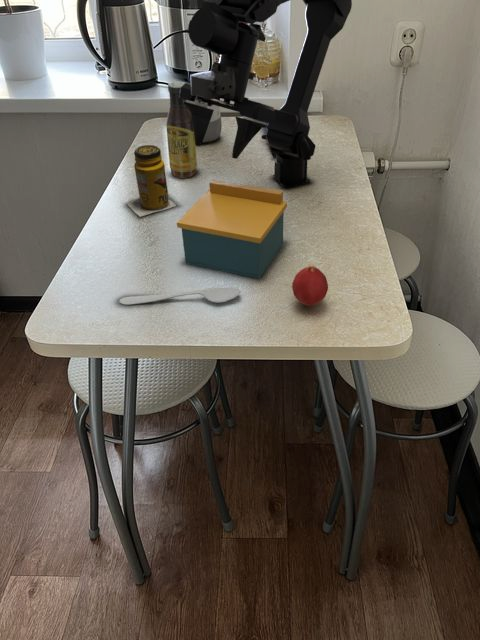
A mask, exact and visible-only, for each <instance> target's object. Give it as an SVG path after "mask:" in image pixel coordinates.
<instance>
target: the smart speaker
mask: <svg viewBox="0 0 480 640" xmlns="http://www.w3.org/2000/svg"><path fill="white" fill-rule="evenodd" d="M207 108H209V109H212V110H214V111H213V114H212V117H211V120H210V123H209V125H208V128H207V131H206V134H205V137H204V139H203V142H202V144H208V143H212V142H214V141H216V140H218V139H219V138H220V136H221V133H222V129H223V128H222V114H221V109H220V108H221V107H220V106H216V105H212V106H211V107H210V106H207Z"/></svg>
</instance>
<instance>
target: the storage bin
mask: <svg viewBox="0 0 480 640" xmlns="http://www.w3.org/2000/svg"><path fill="white" fill-rule="evenodd" d="M284 212H285V211H284ZM284 212H283V213H282V214H281V216H280V217H279V218H278V220H277V221H276V223H275V224H274V225H273V227H272V228H271V229H270V231H269V232H268V234H267V235H266V236H265V238H264V239H263V240H262V242H261V243H255V242H250V241H245V240H240V239H235V238H229V237H224V236H219V235H214V234H208V233H203V232H198V231H193V230H188V229H182V228H180V229H181V237H182V244H183V253H184V262H185V264H186V265H193V266H196V267H201V268H206V269H210V270H216V271H219V272H225V273H229V274H235V275H239V276H244V277H249V278H253V279H257V280H259V279H261V277H262V276H263V275H264V273H265V271H266V270H267V268H268V267H269V265H270V264H271V262H272V261H273V259H274V258H275V256H276V255H277V253H278V252H279V250H280V249H281V247H282V246H283V244H284Z"/></svg>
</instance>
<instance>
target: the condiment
mask: <svg viewBox="0 0 480 640" xmlns="http://www.w3.org/2000/svg"><path fill="white" fill-rule="evenodd" d="M133 154H134V165H133V167H134V171H135V178H136V179H135V180H136V184H137V190H138V195H139V197H138V198H136V199H133V200H128V201H126V202H125V204H126V205H127V206H128V207H129V208H130V209H131V210H132V212H134V213H135V214H136V215H138V217H139V218H141V217H144V216H147V215H151V214H153V213H158V212H161V211H165V210H168V209H171V208H174V207H176V206H177V205H176V203H174V202H173V201H172V200H171V199H170V198H169V190H168V183H167V176H166V175H167V174H166V167H165V162H164V160H163V158H162V152H161V149H160V147H159V146H158V145H153V144H144V145H141V146H138V147H136V149H134V152H133Z"/></svg>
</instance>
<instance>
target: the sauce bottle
mask: <svg viewBox="0 0 480 640" xmlns="http://www.w3.org/2000/svg"><path fill="white" fill-rule="evenodd" d="M185 83H186V82H184V81H179V80H178V81H170V82H169V83H168V84H167V90H168V93H169V110H168V113H167V115H166V116H167V118H166V124H165V125H166V127H165V128H166V137H167V138H166V139H167V149H168V151H167V152H168V160H169V161H168V162H169V169H170V172H171V175H172V176H174V177H176V178H181V179H182V178H184V179H185V178H190V177H192V176H194V175H195V174H196V173H197V168H198V157H197V146H196V145H195V138H194V129H193V121H192V116H191V112H190V111H189V109H188V107H187V106H186V105H184V103H183V101H184V102H186V100H185V99H182V98H179V94H180V89H181V87H182V86H183V85H184V84H185Z"/></svg>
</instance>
